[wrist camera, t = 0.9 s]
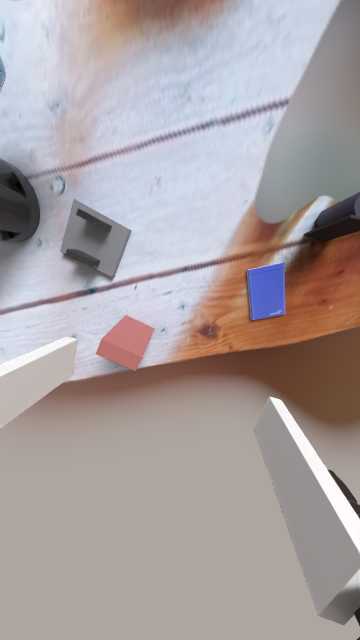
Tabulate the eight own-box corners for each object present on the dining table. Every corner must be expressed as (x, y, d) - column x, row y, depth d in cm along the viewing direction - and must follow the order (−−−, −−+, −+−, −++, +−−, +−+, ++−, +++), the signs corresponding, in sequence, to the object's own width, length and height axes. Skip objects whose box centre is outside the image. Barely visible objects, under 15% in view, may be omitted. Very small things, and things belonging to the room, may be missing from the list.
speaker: (322, 250, 38) (373, 239, 28) (302, 235, 37) (347, 219, 27) (347, 218, 37) (410, 194, 27) (326, 202, 36) (383, 171, 26)
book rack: (64, 251, 39) (46, 250, 34) (78, 201, 36) (60, 191, 31) (114, 276, 41) (104, 279, 36) (131, 230, 38) (123, 226, 32)
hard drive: (285, 314, 42) (285, 262, 38) (252, 320, 43) (248, 270, 39) (282, 312, 44) (281, 262, 40) (249, 318, 45) (245, 269, 41)
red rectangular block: (121, 326, 45) (95, 354, 32) (125, 315, 44) (101, 339, 31) (148, 339, 46) (135, 371, 33) (154, 328, 45) (142, 357, 32)
